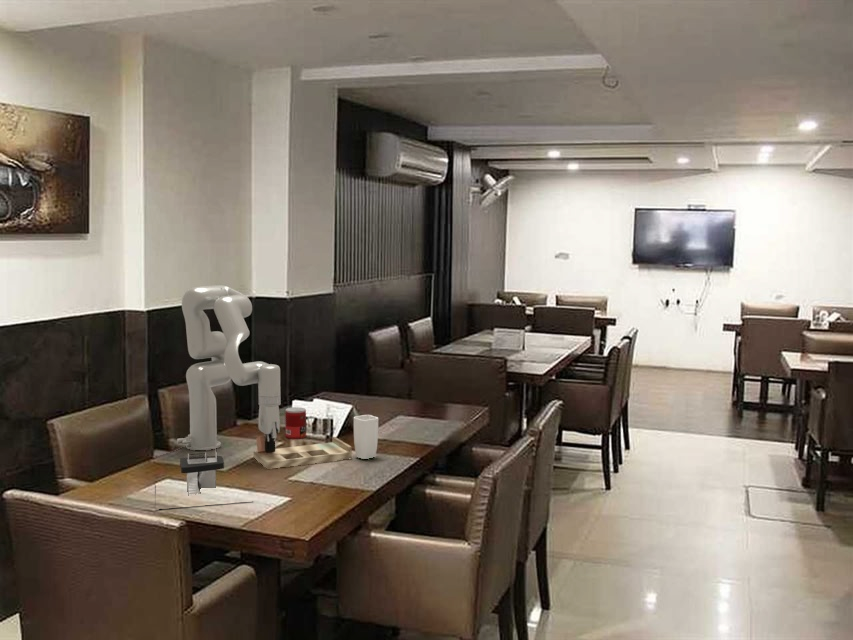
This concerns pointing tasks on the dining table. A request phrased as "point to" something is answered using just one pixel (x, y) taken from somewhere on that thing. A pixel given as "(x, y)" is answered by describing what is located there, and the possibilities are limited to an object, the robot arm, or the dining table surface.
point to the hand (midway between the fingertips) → (270, 451)
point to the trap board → (305, 454)
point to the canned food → (295, 422)
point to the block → (261, 444)
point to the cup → (365, 436)
